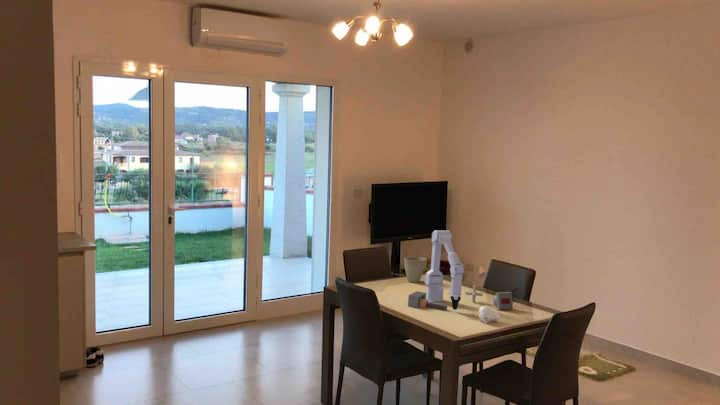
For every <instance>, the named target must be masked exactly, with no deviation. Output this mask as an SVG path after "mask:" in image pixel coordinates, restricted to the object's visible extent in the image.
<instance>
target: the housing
mask: <svg viewBox="0 0 720 405" xmlns="http://www.w3.org/2000/svg"><path fill="white" fill-rule="evenodd" d="M407 298H408V300H407V301H408V302H407V307H411V308H416V309H418V308H420V299H421V298H424V299H426V298H427V292H424V291H418V290H416V291H414V292H412V293H409V294H408V297H407Z"/></svg>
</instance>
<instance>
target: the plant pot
mask: <svg viewBox="0 0 720 405" xmlns="http://www.w3.org/2000/svg"><path fill="white" fill-rule="evenodd" d="M426 261H427V259H426V258H424V257H421V256H420V257H419V256H405V257H403V262H404V270H405V275H406V279H407V281H408V282H409V283H413V284H417V283H420V281H421V278H422V275H423V273H424V270H425V266H426Z"/></svg>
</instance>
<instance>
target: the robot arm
mask: <svg viewBox="0 0 720 405" xmlns="http://www.w3.org/2000/svg"><path fill="white" fill-rule="evenodd" d="M452 237H453V236H452V232H451V231H450V230H449V229H447V230H443V229H441V230H439V229H438V230H436V229H434V231H432V232H431V243H432V247H431V248H432V250H431V260H430V262H431V264H430V269H429V270H428V271H427V272H425V277H424V283H425V285H426V286H427V287H426V289H427V290H426V299H428V302H430V303H438V302H439V303H440V302H444V301H445V300H444V288H443V286H442V285H443V282H444V278H443V272H441V271H440V266H441V255H442V254H441V253H442V245H443V246H444V249H445V250H446V253H447V260H448V262H449V265H450V268H449V271H450V277H451V284H450V292H448V295H451V296H450V300H451V303H452V309H453V310H455V311H457V310H458V307H459V303H460V301H461V298H462V297H461V296H462V284H463V275H464V274H465V271H466V269H465V265H464V264H463V263H462V262H461V261H460V257H459V256H458V253H457V252H455V251H454V247H453V244H452Z"/></svg>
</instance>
